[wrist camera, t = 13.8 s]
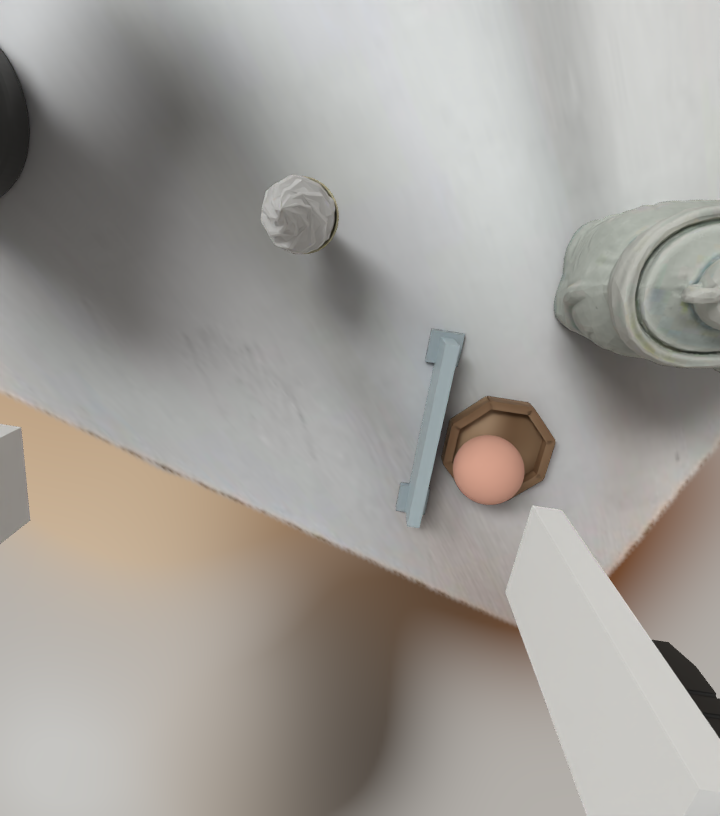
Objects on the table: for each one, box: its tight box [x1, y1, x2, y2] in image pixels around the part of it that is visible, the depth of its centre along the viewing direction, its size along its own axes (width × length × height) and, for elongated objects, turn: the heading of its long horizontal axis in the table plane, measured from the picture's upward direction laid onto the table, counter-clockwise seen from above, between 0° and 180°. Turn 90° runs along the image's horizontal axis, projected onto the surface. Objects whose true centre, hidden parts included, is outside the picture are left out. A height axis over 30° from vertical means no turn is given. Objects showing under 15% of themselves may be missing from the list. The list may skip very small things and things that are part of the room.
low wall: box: [396, 329, 465, 528], centre depth 44 cm, size 3×19×4 cm, turn 172°
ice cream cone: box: [261, 175, 339, 254], centre depth 33 cm, size 5×5×15 cm
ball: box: [453, 435, 525, 505], centre depth 43 cm, size 6×6×6 cm
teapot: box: [554, 200, 720, 372], centre depth 32 cm, size 16×15×19 cm
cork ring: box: [441, 396, 555, 501], centre depth 46 cm, size 10×10×2 cm
